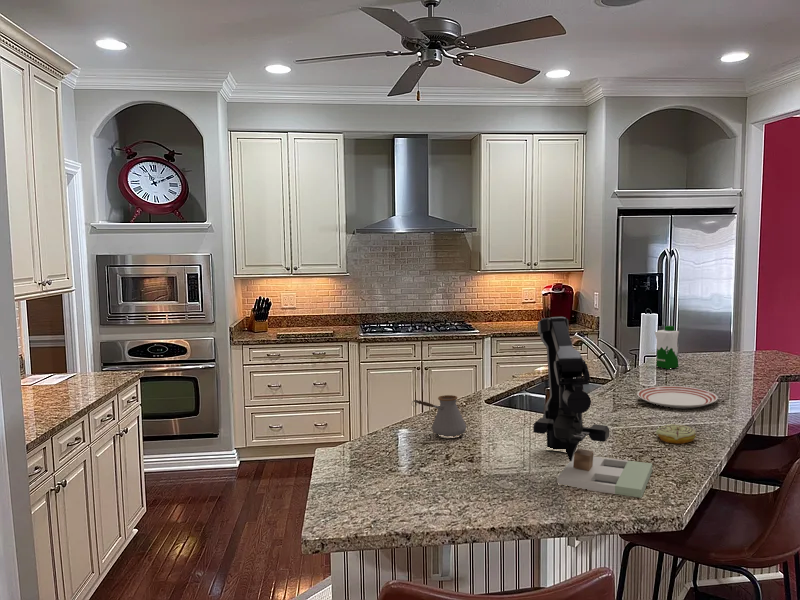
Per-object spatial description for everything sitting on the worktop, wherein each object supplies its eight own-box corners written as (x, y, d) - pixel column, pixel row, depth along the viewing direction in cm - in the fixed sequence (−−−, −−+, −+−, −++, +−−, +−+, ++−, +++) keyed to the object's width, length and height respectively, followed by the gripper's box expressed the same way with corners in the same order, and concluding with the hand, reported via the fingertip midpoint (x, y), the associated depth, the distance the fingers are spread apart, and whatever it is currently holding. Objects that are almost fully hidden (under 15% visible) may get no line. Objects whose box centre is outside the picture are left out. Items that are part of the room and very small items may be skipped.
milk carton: (681, 368, 282) (680, 326, 281) (668, 370, 279) (667, 328, 277) (666, 365, 290) (665, 325, 289) (652, 367, 287) (652, 326, 285)
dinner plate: (728, 412, 206) (728, 403, 206) (645, 412, 212) (645, 403, 212) (705, 394, 233) (704, 385, 233) (631, 394, 239) (631, 386, 239)
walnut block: (573, 467, 155) (574, 452, 155) (577, 462, 158) (578, 448, 158) (588, 471, 153) (590, 456, 153) (592, 466, 156) (593, 451, 156)
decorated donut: (649, 438, 183) (649, 426, 183) (672, 432, 188) (672, 420, 188) (679, 447, 174) (679, 434, 173) (702, 440, 179) (702, 428, 178)
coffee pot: (448, 428, 204) (446, 385, 203) (474, 434, 196) (472, 390, 195) (403, 443, 190) (400, 397, 189) (428, 451, 181) (426, 403, 180)
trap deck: (557, 485, 150) (557, 477, 150) (575, 461, 166) (575, 454, 166) (641, 497, 140) (641, 489, 140) (652, 470, 156) (652, 463, 156)
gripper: (526, 406, 154) (527, 465, 155) (600, 414, 144) (600, 477, 146) (539, 397, 163) (540, 452, 165) (609, 404, 154) (609, 462, 155)
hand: (570, 460), depth 157 cm, fingers closed
